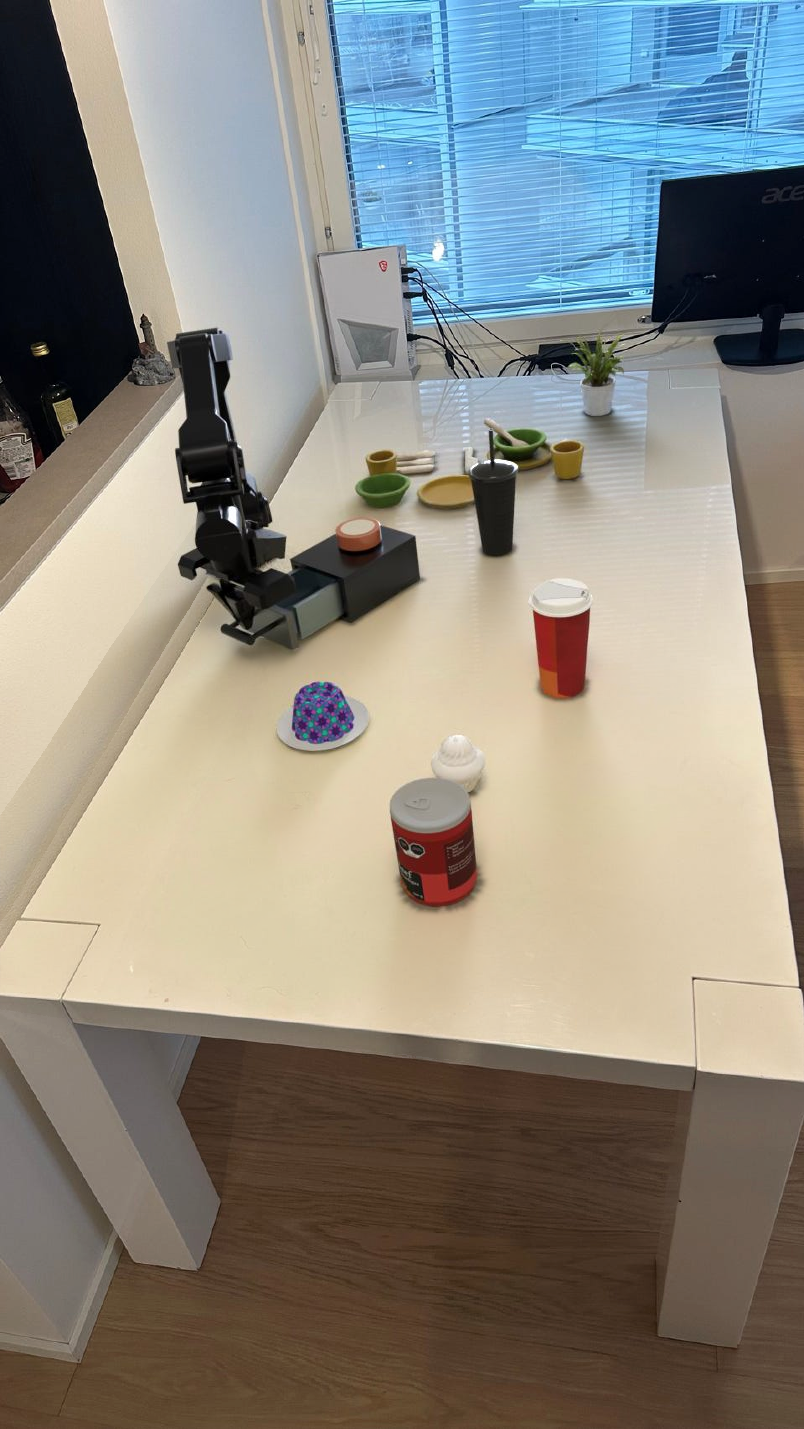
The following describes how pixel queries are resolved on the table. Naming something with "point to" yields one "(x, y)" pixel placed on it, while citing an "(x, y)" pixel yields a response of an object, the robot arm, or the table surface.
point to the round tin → (358, 534)
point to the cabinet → (365, 569)
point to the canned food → (434, 840)
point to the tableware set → (457, 489)
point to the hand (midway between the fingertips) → (247, 628)
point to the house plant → (598, 377)
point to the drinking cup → (494, 502)
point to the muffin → (459, 762)
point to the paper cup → (561, 635)
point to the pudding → (322, 718)
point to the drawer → (295, 612)
